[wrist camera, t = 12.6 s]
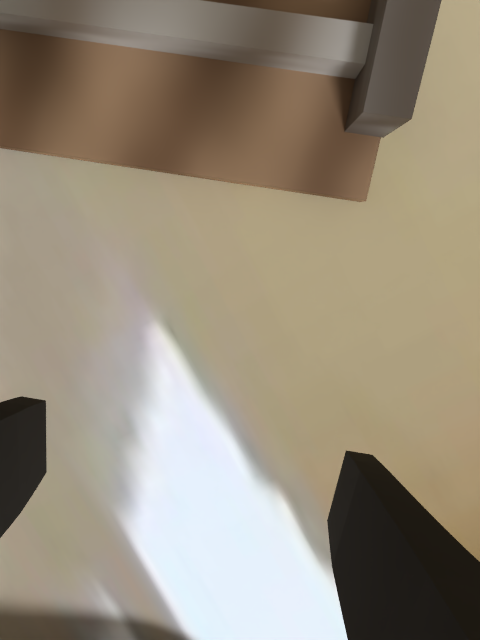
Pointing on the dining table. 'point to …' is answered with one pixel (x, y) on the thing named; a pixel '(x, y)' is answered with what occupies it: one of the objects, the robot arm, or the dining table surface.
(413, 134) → the dining table surface
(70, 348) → the dining table surface
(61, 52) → the rail board
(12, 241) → the dining table surface
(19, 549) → the dining table surface
